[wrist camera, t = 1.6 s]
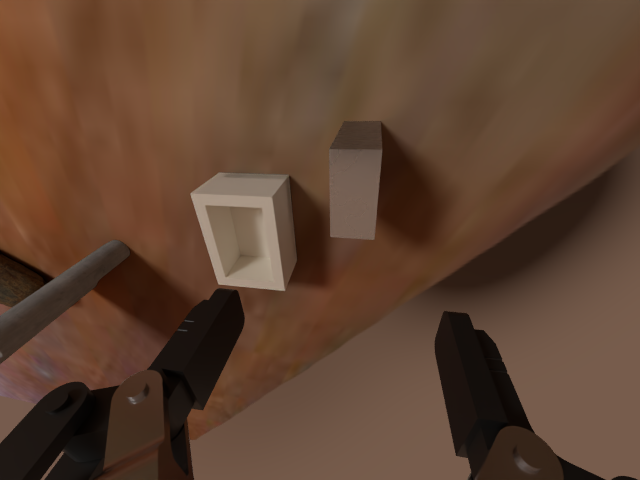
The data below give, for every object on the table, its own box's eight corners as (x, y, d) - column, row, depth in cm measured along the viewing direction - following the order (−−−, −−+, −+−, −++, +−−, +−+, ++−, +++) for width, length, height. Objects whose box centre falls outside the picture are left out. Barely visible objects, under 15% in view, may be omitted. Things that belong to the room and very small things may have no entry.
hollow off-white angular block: (288, 174, 31) (271, 197, 26) (297, 260, 37) (284, 290, 32) (219, 172, 32) (190, 193, 27) (238, 255, 39) (218, 284, 34)
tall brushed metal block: (380, 121, 26) (382, 149, 18) (375, 190, 30) (374, 239, 22) (343, 121, 27) (329, 148, 19) (342, 188, 31) (330, 236, 22)
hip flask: (92, 289, 49) (-52, 406, 33) (71, 274, 48) (-91, 388, 31) (133, 251, 42) (-24, 376, 25) (110, 232, 40) (-73, 351, 24)
